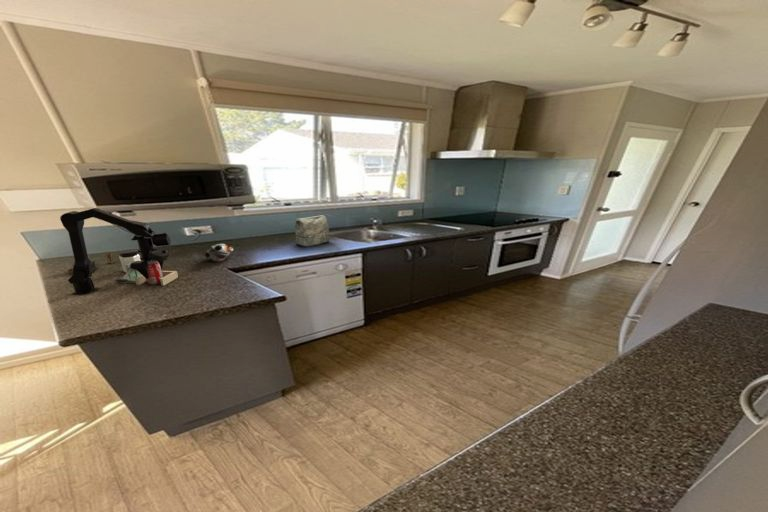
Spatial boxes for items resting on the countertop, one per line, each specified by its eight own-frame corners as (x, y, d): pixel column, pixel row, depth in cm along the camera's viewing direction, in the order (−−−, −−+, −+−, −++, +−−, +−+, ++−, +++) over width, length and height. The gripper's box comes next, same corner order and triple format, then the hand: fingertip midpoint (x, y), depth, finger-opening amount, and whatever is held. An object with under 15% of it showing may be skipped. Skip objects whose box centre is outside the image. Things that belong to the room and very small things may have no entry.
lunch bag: (321, 238, 248) (320, 213, 241) (332, 242, 236) (331, 216, 229) (293, 243, 231) (290, 216, 225) (304, 248, 219) (301, 220, 212)
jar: (122, 274, 164) (116, 254, 161) (124, 269, 171) (119, 250, 167) (142, 271, 169) (137, 251, 165) (143, 267, 176) (139, 248, 172)
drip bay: (163, 285, 150) (162, 278, 149) (136, 285, 150) (134, 278, 149) (178, 277, 161) (176, 271, 160) (152, 277, 161) (150, 270, 160)
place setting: (69, 269, 170) (66, 260, 168) (114, 261, 183) (111, 253, 182) (68, 277, 158) (64, 267, 156) (116, 269, 172) (113, 259, 170)
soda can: (161, 278, 159) (156, 258, 155) (165, 282, 155) (160, 261, 151) (145, 282, 154) (140, 261, 150) (149, 286, 149) (143, 264, 146)
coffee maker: (137, 283, 153) (133, 267, 150) (118, 282, 153) (114, 267, 150) (154, 274, 165) (150, 260, 162) (137, 274, 164) (133, 260, 162)
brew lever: (127, 283, 150) (124, 280, 148) (117, 282, 150) (114, 279, 148) (141, 266, 158) (139, 263, 157) (132, 266, 158) (129, 263, 157)
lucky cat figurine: (227, 254, 200) (232, 238, 195) (230, 265, 193) (236, 249, 188) (202, 252, 190) (207, 236, 184) (205, 264, 183) (211, 247, 177)
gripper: (147, 252, 139) (155, 282, 144) (174, 242, 157) (180, 268, 162) (125, 252, 139) (133, 282, 144) (154, 242, 157) (161, 268, 162)
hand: (154, 275), depth 153 cm, fingers open, 9 cm apart
